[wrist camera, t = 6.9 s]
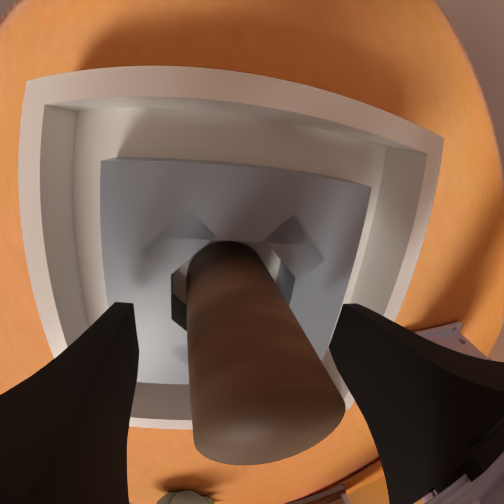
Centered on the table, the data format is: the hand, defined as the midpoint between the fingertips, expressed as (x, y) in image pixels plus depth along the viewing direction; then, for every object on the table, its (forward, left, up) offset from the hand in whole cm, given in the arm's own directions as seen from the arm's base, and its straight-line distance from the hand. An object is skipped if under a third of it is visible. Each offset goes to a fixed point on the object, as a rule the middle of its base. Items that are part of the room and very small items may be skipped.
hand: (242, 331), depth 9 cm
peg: (0, 0, -4) cm, 4 cm away
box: (0, 0, -5) cm, 5 cm away
